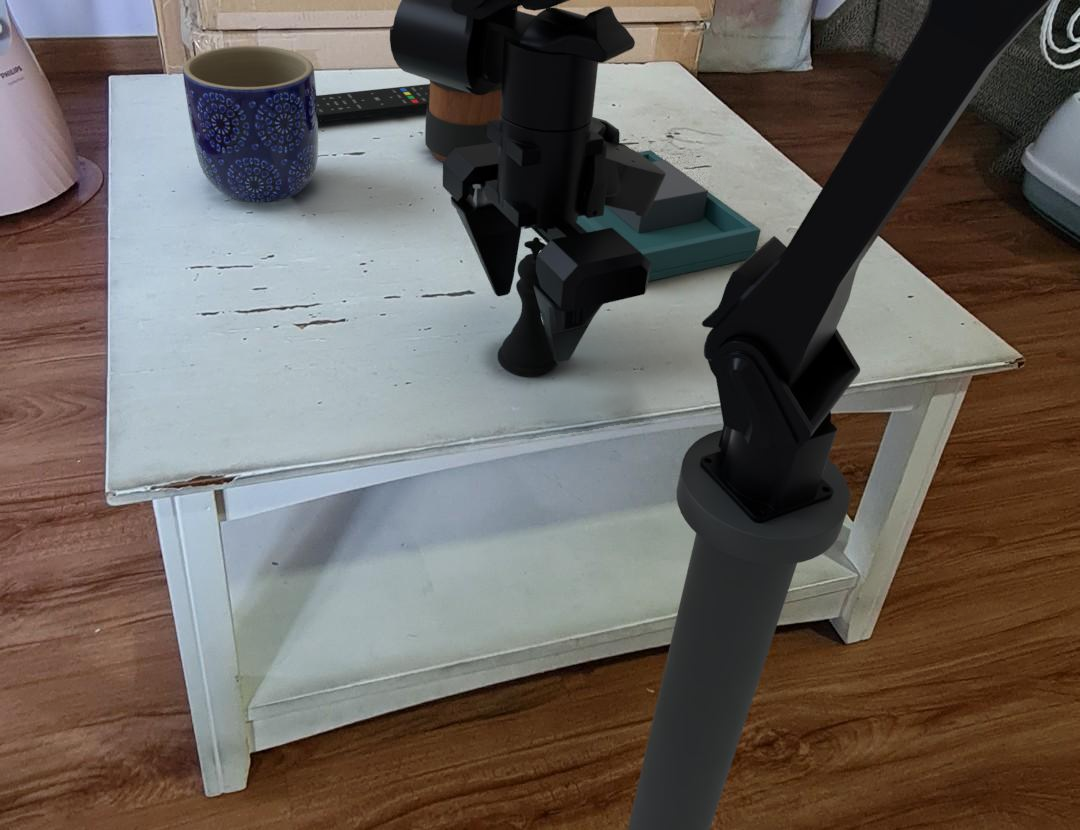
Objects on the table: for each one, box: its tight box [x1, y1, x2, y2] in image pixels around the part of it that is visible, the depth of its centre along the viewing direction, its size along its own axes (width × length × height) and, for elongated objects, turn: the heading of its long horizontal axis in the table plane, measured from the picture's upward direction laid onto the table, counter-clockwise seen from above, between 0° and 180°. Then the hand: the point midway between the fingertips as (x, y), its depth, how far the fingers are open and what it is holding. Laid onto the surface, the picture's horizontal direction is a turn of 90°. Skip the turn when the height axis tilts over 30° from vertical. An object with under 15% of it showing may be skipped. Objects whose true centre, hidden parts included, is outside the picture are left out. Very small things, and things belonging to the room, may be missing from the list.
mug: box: [424, 79, 502, 163], centre depth 98 cm, size 9×12×12 cm
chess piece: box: [497, 236, 558, 377], centre depth 70 cm, size 4×4×10 cm
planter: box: [182, 45, 319, 204], centre depth 89 cm, size 11×11×11 cm
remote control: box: [316, 83, 430, 123], centre depth 107 cm, size 5×24×1 cm, turn 116°
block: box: [605, 159, 709, 233], centre depth 91 cm, size 7×7×3 cm
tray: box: [576, 149, 761, 282], centre depth 90 cm, size 18×14×3 cm
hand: (530, 325), depth 71 cm, fingers open, 9 cm apart
